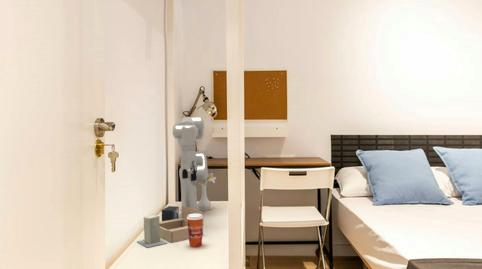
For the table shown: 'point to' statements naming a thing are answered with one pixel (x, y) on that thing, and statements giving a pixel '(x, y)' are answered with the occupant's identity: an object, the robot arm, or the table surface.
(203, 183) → the flower vase
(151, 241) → the skincare box
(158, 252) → the table surface
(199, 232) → the paper cup
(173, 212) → the small box
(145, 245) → the mat
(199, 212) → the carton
